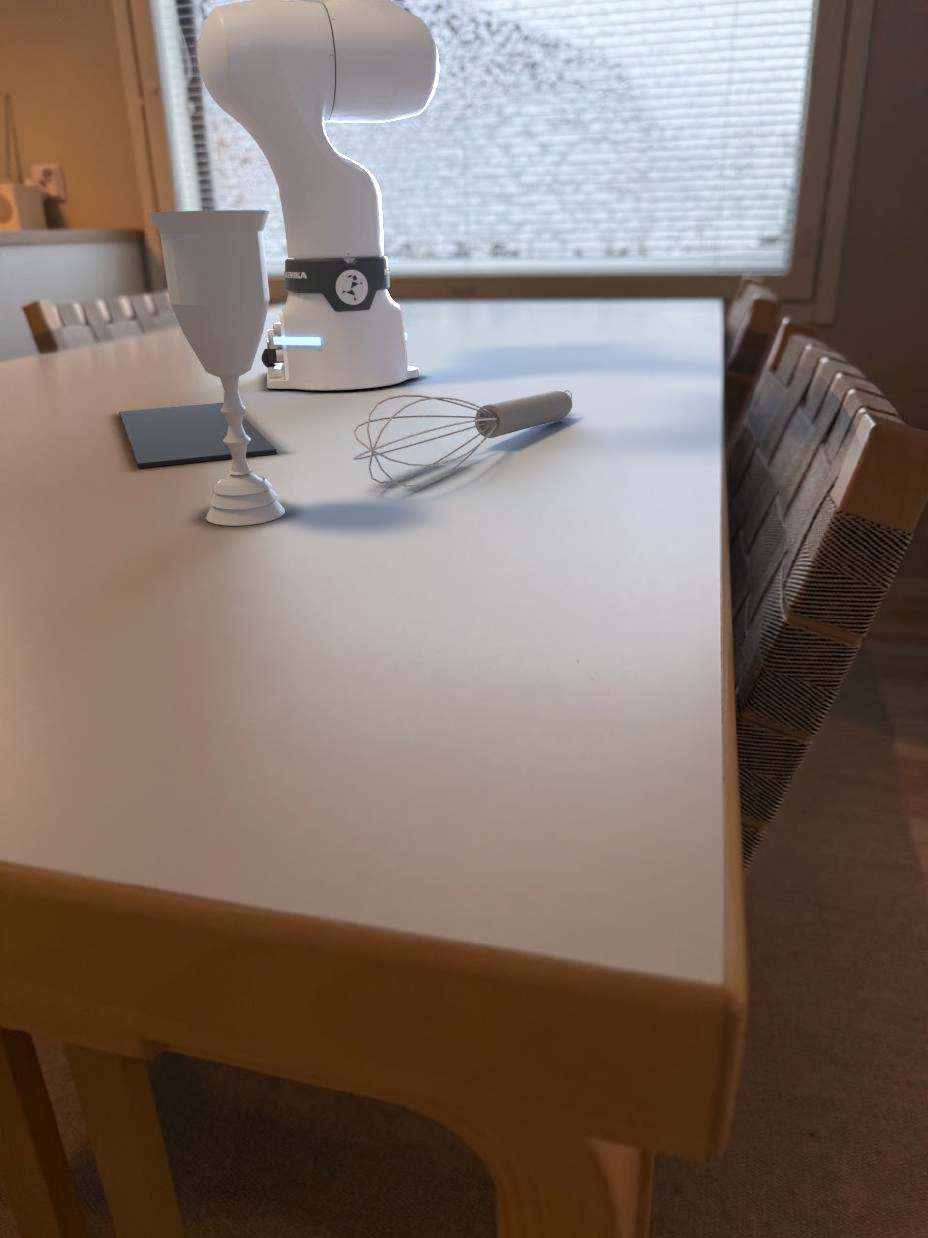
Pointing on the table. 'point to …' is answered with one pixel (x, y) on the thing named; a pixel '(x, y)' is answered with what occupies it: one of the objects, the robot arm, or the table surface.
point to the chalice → (223, 330)
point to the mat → (185, 435)
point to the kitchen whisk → (478, 423)
